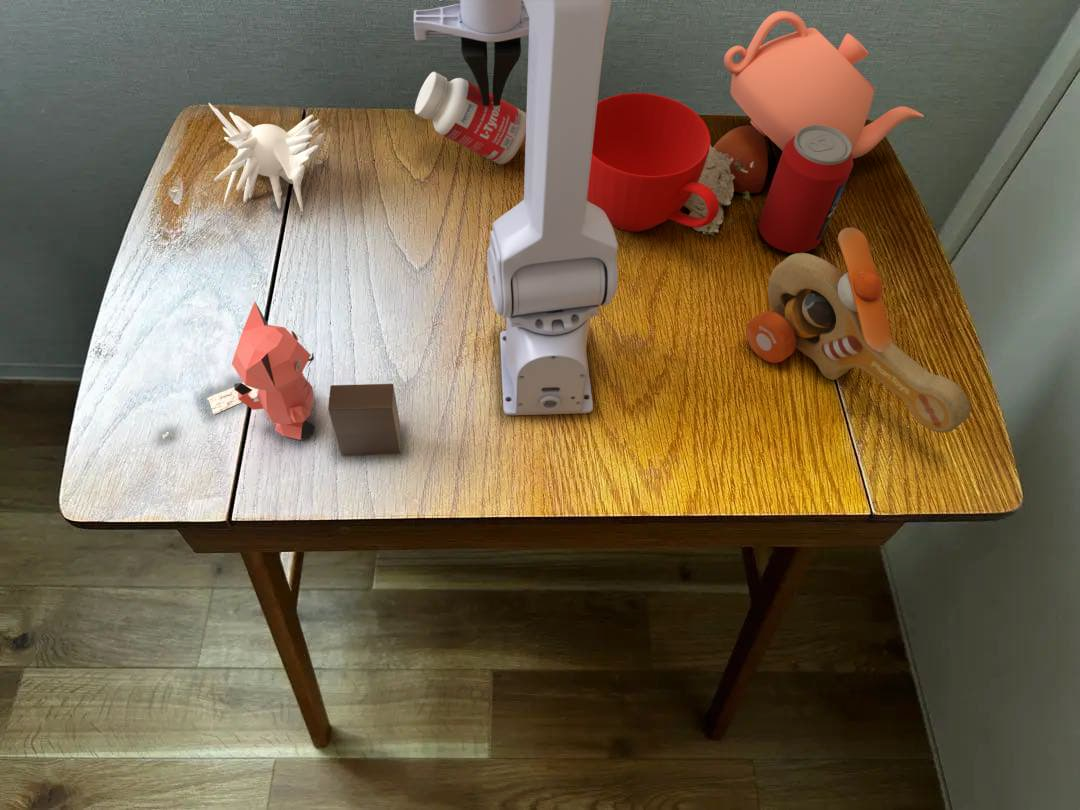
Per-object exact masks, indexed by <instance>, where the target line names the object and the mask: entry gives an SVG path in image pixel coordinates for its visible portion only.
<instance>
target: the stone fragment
mask: <svg viewBox="0 0 1080 810" xmlns="http://www.w3.org/2000/svg"><path fill="white" fill-rule="evenodd" d="M715 143H717V140H715ZM711 144H712V143H710V148H709V153H708V156H707V159H706V162H705V165H704V168H703V171H702V173H701V176H700V178H699V180H698V182H697V183H701V184H703V185H705V186H707V187H708V188H710V189H711V190H712V191H713V192H714V193H715V195H716V197H717V199H718V202H719V211H718V214H717V216H716V218H715V219H714V220H713V221H712V222H710V223H709V224H707V225H705V226H703V227H692V229H693V230H694V231H696V232H699V233H700V232H702V234H704V235H707V236H708V235H710V236H716V234H717V233H719V232H720V230H719V228H720V226H721V224H723V222H724V221H723V220H724V208H723V206H726V207H727V208H729V206H730V205H731V203H732V202H731V200H732V199H733V197H734V192H735V191H734V187H733V186H734V185H733V181H732V180H733V179H734V178H735V176H734V175H733V174H732V173H731V172H730V169H729V168H730V164H731V162H732V161H733V158H732V157H731V159H729V158H728V157H727V156H728V154H727V156H725V155H726V154H722V152H720V151H716V149H715V148H714V146H712V145H711ZM713 149H714V150H713ZM729 157H730V156H729ZM739 158H740V157H739ZM739 158H738V159H739ZM742 159H743V157H742ZM735 160H737V159H735ZM707 161H708V162H707ZM753 164H754V162H752V163H751V165H750V167H751V168H753V166H754V165H753ZM740 165H741V166H740ZM744 165H745V164H744ZM744 165H743V164H742V163H741V162H740V161H738V162H737V161H736V163H735V165H734V166H735V170H738V169H739V166H740V168H741V169H740V170H741V171H743V172H745V173H748V171H745V169H744ZM755 170H756V169H755ZM720 173H721V178H719V176H720ZM718 178H719V180H718ZM742 194H743V195H742V198H743V199H744V201H745V203H744V204H745V207H748V205H747V203H746V200H747V201H751V193H749V191H746V192H745V193H744V192H743V193H742ZM739 203H740V204H741V201H740V202H739ZM683 207H685V209H688V210H689V214H688V215H689V216H692V217H695V218H705V217H706V216H707V213H708V210H707V205H706V203H705V201H704V200H703V199H702V198H701V197H700V196H699V195H697V194H695V193H692V194H691V196H690V198H689V199H688V200H687V202H686V203H685V204H684V205H683ZM738 209H739V210H741V208H740V207H739V208H738ZM737 212H738V213H737ZM736 213H737V214H736V216H739V215H740V214H739V213H740V211H738V210H737V211H736ZM733 215H734V214H731V213H730V215H729V216H728V217H729V220H728V221H727V222H726V227H731V226H732V224H733V223H734V220H733V218H732V217H733ZM715 233H716V234H715Z"/></svg>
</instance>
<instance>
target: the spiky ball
mask: <svg viewBox="0 0 1080 810" xmlns="http://www.w3.org/2000/svg"><path fill="white" fill-rule="evenodd" d="M208 106H209V107H210V109H211V110H212V112H213V113H214V114H215V115H216V117H217V118H218V119H219V120H220V122H221V123H222V124H223V125H224V126H222V129H223V131H224V132H225V133H226V135H227V136H223V139H224V140H225V142H227V143H229V144H230V145H231V146H233V147H234V148H236V149H237V153H236V156H235V157H234V158H233V159H232V160H231V161H230V162H229V164H228V166H227V167H226V168H224V170H222V171H221V172H220V173H219V174H217V175H216V177H215V178H214V179H213V182H218V181H220V180H222V179H224V178H226V177H227V176H228V175H230V174H231V175H230V179H229V181H228V185H227V188H226V191H225V194H224V200H223V204H222V205H223V206H222V207H225V205H226V204H227V201H228V198H229V196H230V193H231V191H232V187H233V185H234V182H235V180H236V177H237V175H238V171H239V169H240V168H242V167H243V168H242V171H241V175H240V176H239V180H238V182H237V185H236V191H237V192H238V191H240V190H241V188H242V189H244V192H243V203H246V202H247V201H248V200H249V199H250V200H251V199H252V198H253V195H254V191H255V187H256V183H257V180H258V179H257V178H258V176H259V175H261V176H263V177H268V178H269V181H270V184H271V188H272V189H271V190H272V192H273V197H274V199H275V203H276V207H277V209H278V210H280V209H281V208H282V200H281V199H282V197H281V196H282V195H283V191H282V187H281V183H280V178H282V179H283V180H285V181H286V182H287V183H289V184H290V185H293V190H294V193H295V196H296V200H297V204H298V206H299V209H300V211H301V212H302V213H303V212H304V210H303V200H302V191H301V189H302V188H301V186H302V182H303V178H304V174H305V169H306V168H305V165H306V164H307V162H308V161H310V160H311V159H312V158H313V157H314V161H313V165H321V164H322V163H323V160H320V159H318V156H319V153H320V150H321V148H322V144H323V141H324V137H325V135H324V132H323V133H322V132H321V133H319V135H317V137H315V138H314V140H313V141H312V142H311V141H309V140H310V139H312V138H313V135H312V134H313V133H314V132H315V131H316V130H317V129H318V128H319V127H320V126H321V124H320V125H318V124H319V122H320V121H321V120H320V118H318V119H315V120H314V121H312V122H311V120H313V117H314V114H310V115H308V116H307V117H305V118H304V119H303V120H302V121H300V122H299V123H297V124H296V125H295V126H294V127H292V128H291V129H289V130H288V131H286V130H285V129H283V128H282V127H280V126H278V125H277V124H276V125H275V124H271V123H262V124H258V125H255V126H253V125H251V124H250V123H249V122H248V121H246V120H245V119H244V118H242V117H240V116H239V115H237V114H236V115H235V114H234V113H233V112H232V111H229V116H230V118H231V119H232V122H234V125H235V126H236V127H235V126H234V125H233V124H232V123H231V122H230V121H229V119H227V118H226V117H225V116H224V115H223V113H222V112H221V111H220V110H219V109H218V108H216V107H215V106H214V105H212V103H211V102H208ZM317 125H318V126H317ZM316 126H317V127H316Z"/></svg>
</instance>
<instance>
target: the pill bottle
mask: <svg viewBox="0 0 1080 810" xmlns="http://www.w3.org/2000/svg"><path fill="white" fill-rule="evenodd" d="M414 113H415V115H416V116H418V117H420V118H422V119H423V120H427V121H428V120H432V125H433V129H434V130H435V131H436V133H438V134H439V135H441V136H443V137H445V138H446V139H449V140H450V141H453V142H455V143H456V144H458V145H460V146H462V147H464V148H466V149H467V150H470V151H472V152H474V153H476V154H478V155H480V156H482V157H484V158H486V159H488V160H490V161H492V162H494V163H496V164H499V165H505V164H508V163H509V162H510V161H512V159H513V158H514V157H515V156H516V155H517V154H518V152H519V150H520V148H521V146H522V144H523V143H524V139H525V138H526V113H525V112H524V111H523V110H521V109H520V108H518V107H516V106H515V105H512V104H511V103H509V102H507V101H506V100H503V99H502V98H501V101H500V105H499V106H493V93H491V92H489V106H483V104H482V97H481V93H480V90H479V87H478V85H476V84H474V83H472V82H471V81H469V80H467V79H465V78H463V77H456V78H453V79H451V80H450V81H448V78H447V77H446V76H443V75H442V74H440V73H439V72H437V71H432V72H430V73H429V75H428V76H427V77H426V79H425V81H424V82H423V84H422V86H421V87H420V90H419V92H418V94H417V98H416V101H415V105H414Z"/></svg>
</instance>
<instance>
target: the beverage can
mask: <svg viewBox="0 0 1080 810" xmlns="http://www.w3.org/2000/svg"><path fill="white" fill-rule="evenodd" d="M851 151H852V145H851V142H850V140H849V139H848V138H847V136H846V135H844V134H843V133H842V132H840V131H838V130H836V129H834V128H831V127H828V126H823V125H811V126H807V127H804V128H802V129H801V130H800V131H798V133H797V134H796V136H794V137H793V138H792V139H791V140H789V141H788V142H787V144H786V145H785V147H784V149H783V151H782V152H781V155H780V158H779V161H778V164H777V165H776V169H775V173H774V175H773V178H772V181H771V184H770V186H769V190H768V193H767V196H766V198H765V200H764V201H765V202H764V205H763V208H762V211H761V214H760V217H759V220H758V224H757V225H758V232H759V234H760V236H761V238H762V239H763V240H764V241H765V242H766V243H767V244H768V245H770V246H771V247H773V248H775V249H777V250H780V251H782V252H786V253H790V254H792V253H793V254H796V253H806V252H810V251H812V250H813V249H815V248H817V247H818V246H819V245H820V243H821V241H822V239H823V237H824V234H825V232H826V230H827V228H828V226H829V223H830V221H831V218H832V217H833V215H834V212H835V210H836V207H837V205H838V203H839V200H840V198H841V196H842V193H843V191H844V189H845V187H846V184H847V182H848V180H849V177H850V175H851V172H852V169H853V167H854V159H853V157H852V152H851Z"/></svg>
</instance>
